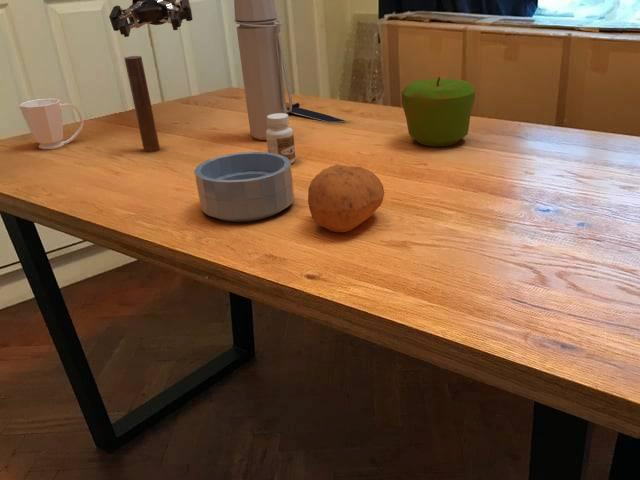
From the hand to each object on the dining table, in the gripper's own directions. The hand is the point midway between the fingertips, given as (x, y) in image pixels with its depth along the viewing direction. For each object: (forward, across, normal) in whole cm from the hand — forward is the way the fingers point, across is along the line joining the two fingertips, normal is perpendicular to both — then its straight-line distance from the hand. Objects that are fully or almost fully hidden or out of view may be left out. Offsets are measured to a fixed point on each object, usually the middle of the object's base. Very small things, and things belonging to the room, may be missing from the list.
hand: (149, 28), depth 116 cm
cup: (+2, -22, +18) cm, 29 cm away
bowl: (+44, +13, +11) cm, 47 cm away
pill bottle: (+25, +19, +16) cm, 35 cm away
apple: (+22, +46, +19) cm, 55 cm away
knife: (-5, +23, +24) cm, 34 cm away
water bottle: (+10, +18, +20) cm, 28 cm away
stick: (+11, -4, +17) cm, 21 cm away
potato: (+53, +26, +10) cm, 60 cm away
